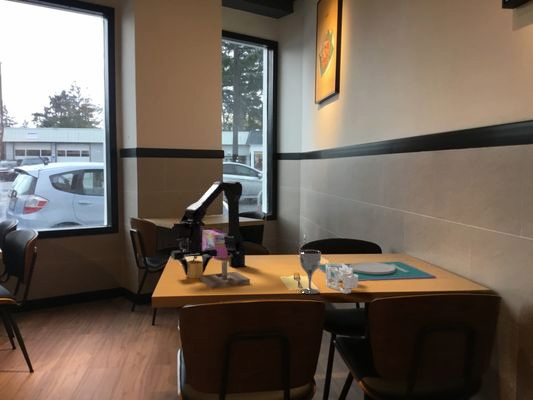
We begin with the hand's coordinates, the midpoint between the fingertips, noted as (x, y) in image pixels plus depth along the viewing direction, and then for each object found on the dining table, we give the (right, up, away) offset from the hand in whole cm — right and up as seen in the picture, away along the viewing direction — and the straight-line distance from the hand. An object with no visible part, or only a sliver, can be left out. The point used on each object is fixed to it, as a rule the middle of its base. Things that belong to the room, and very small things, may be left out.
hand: (194, 273), depth 190 cm
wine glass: (+47, -3, -21) cm, 51 cm away
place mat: (+78, -2, +14) cm, 80 cm away
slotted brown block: (+14, -2, -9) cm, 16 cm away
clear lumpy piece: (+60, -3, -13) cm, 61 cm away
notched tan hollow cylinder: (0, -1, 0) cm, 1 cm away
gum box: (+3, +2, +46) cm, 46 cm away
